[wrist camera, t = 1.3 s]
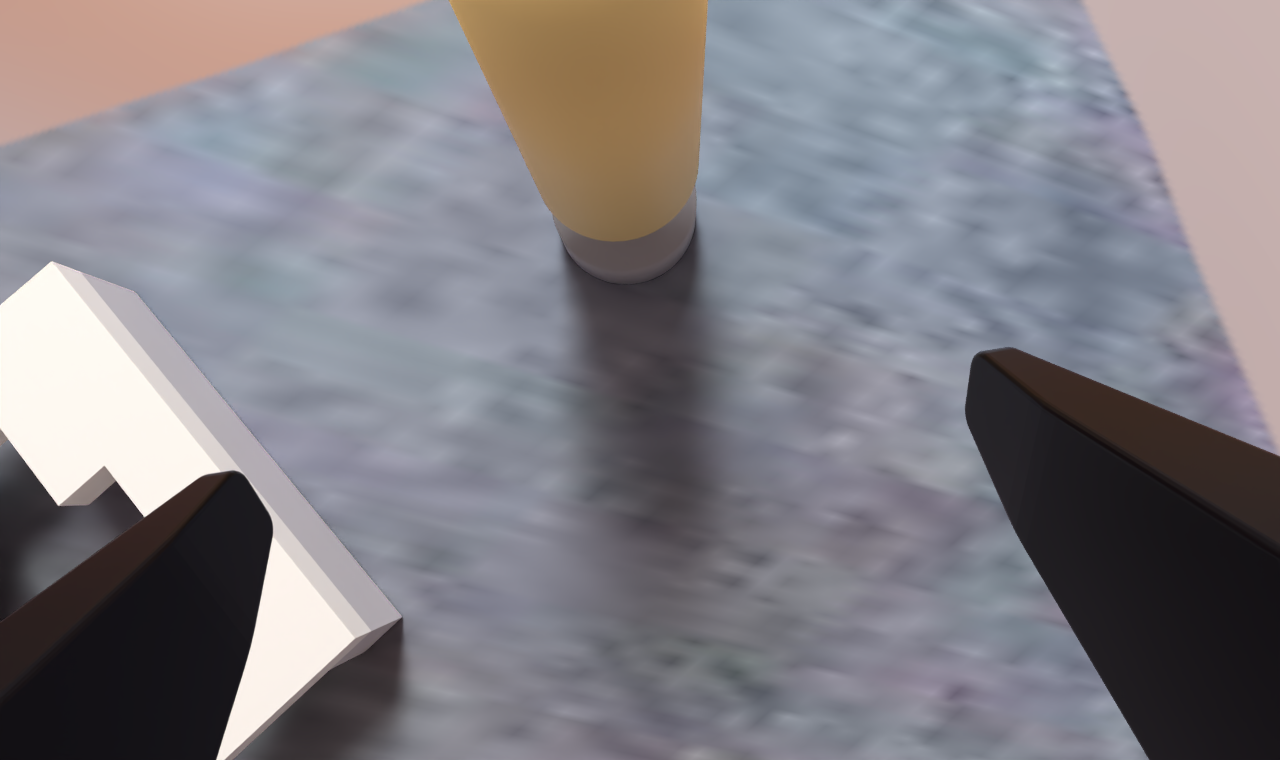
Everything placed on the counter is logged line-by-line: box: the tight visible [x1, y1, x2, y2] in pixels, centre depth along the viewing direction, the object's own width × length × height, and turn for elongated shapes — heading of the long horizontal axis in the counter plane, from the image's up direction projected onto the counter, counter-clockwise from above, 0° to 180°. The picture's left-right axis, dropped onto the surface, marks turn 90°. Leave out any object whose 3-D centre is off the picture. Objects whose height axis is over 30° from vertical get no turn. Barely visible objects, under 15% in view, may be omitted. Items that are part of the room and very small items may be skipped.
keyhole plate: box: [0, 262, 402, 760], centre depth 21 cm, size 14×11×3 cm
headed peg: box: [449, 0, 708, 284], centre depth 17 cm, size 4×4×13 cm
